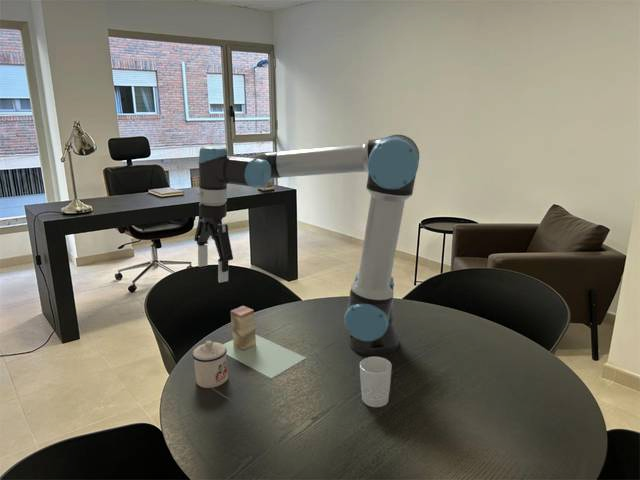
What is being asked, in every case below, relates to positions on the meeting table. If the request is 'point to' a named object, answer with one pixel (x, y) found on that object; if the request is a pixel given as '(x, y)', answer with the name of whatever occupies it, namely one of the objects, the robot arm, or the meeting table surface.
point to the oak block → (243, 328)
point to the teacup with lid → (210, 364)
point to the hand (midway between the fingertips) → (212, 273)
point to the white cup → (375, 381)
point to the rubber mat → (265, 357)
